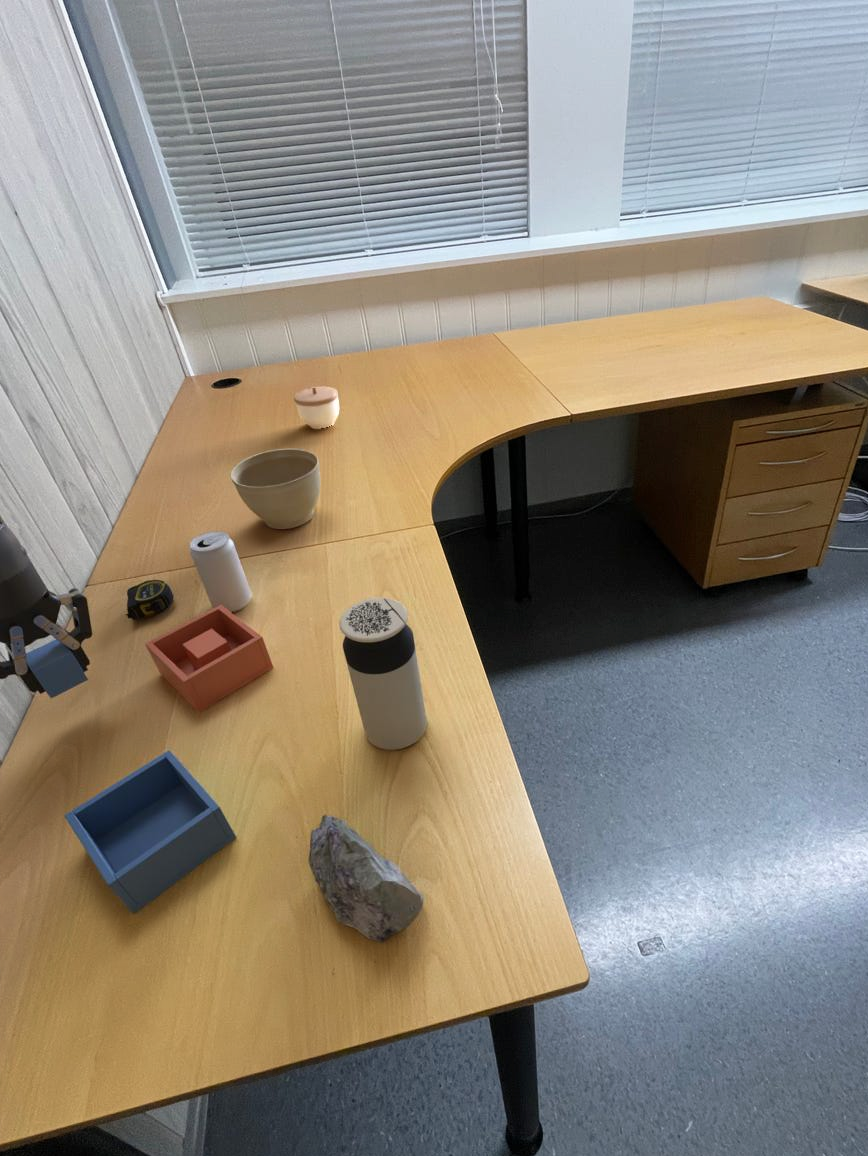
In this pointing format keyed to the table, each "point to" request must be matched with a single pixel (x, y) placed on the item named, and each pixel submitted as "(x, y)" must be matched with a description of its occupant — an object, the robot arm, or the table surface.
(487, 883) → the table surface
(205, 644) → the terracotta block
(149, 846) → the blue bin
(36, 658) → the blue block
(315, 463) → the planter bowl
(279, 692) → the table surface
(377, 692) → the travel mug
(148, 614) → the tape measure
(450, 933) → the table surface
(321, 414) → the trinket box
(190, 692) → the terracotta bin
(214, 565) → the beverage can
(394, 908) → the mineral rock
